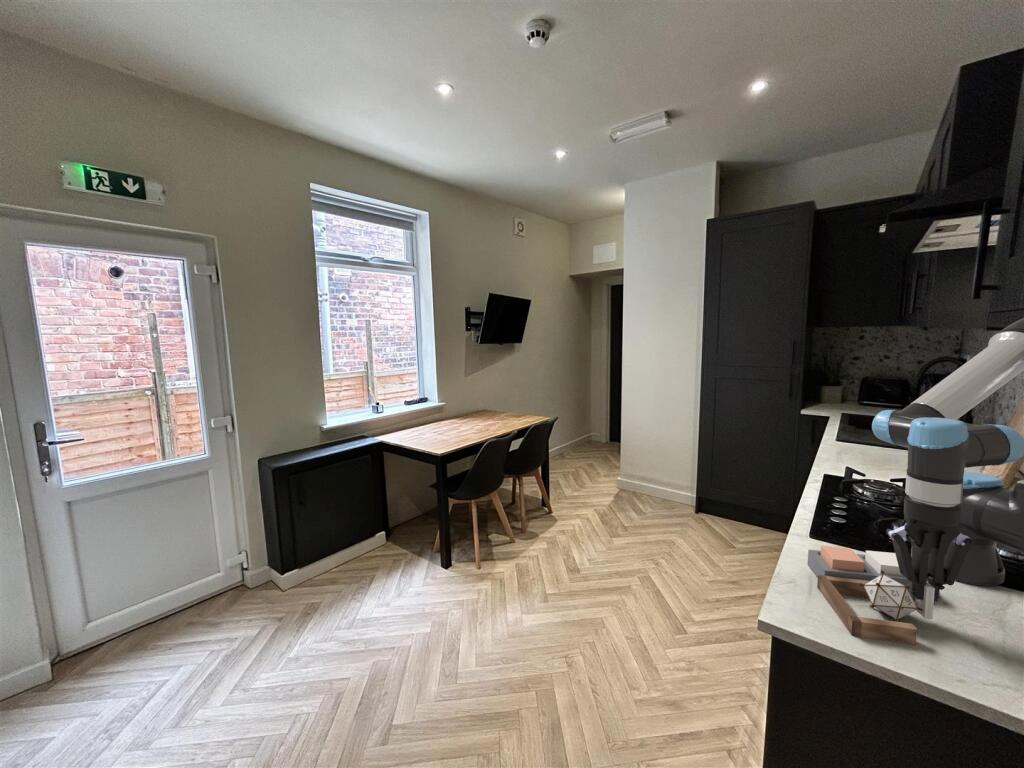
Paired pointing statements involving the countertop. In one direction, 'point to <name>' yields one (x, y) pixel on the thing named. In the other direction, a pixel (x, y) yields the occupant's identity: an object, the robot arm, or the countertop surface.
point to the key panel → (869, 572)
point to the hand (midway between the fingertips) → (923, 614)
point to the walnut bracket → (861, 625)
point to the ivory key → (883, 562)
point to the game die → (890, 596)
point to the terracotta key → (842, 558)
